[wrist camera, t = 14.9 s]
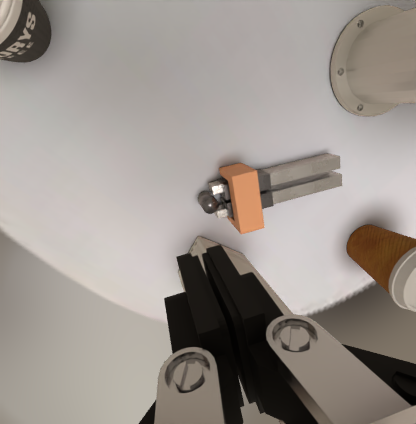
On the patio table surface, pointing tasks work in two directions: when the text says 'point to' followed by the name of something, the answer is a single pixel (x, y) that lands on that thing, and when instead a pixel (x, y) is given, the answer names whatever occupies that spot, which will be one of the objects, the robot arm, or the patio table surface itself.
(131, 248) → the patio table surface
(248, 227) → the collar
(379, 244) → the disposable coffee cup
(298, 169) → the tongs fixed
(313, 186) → the tongs arm
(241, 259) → the skincare box
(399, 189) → the patio table surface
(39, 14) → the coffee cup
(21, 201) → the patio table surface
